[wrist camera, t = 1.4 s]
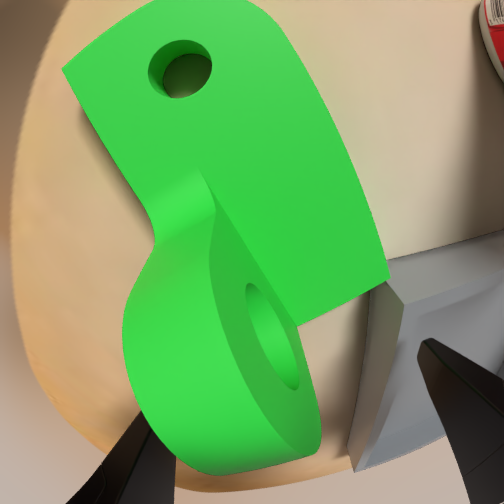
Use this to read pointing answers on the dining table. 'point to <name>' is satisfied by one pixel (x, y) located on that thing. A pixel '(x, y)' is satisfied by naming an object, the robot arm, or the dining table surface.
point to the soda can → (493, 31)
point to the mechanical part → (228, 227)
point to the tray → (418, 329)
